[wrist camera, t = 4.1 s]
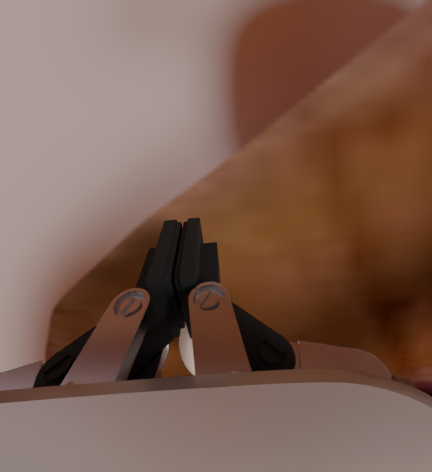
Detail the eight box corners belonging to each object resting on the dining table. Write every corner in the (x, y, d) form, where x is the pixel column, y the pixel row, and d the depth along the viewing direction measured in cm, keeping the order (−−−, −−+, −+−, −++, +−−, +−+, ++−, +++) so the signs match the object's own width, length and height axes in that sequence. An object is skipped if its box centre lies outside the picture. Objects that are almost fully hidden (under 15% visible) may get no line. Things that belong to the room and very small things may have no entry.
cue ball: (177, 288, 17) (165, 362, 13) (248, 284, 17) (260, 357, 12) (189, 328, 21) (181, 398, 16) (248, 325, 20) (258, 395, 16)
